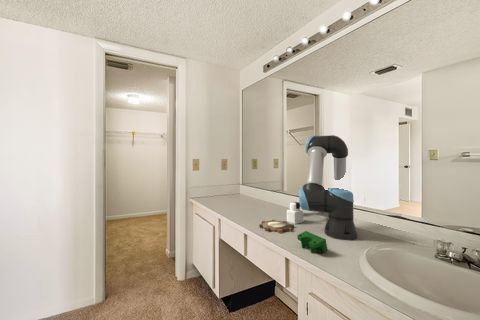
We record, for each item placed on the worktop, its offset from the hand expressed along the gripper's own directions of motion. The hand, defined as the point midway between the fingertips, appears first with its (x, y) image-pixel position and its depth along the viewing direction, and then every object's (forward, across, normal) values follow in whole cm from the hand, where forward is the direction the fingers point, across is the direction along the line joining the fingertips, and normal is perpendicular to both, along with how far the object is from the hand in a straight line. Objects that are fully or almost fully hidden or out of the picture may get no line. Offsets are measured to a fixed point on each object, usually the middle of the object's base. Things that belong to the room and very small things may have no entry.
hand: (302, 208), depth 136 cm
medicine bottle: (+10, 0, -7) cm, 12 cm away
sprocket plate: (+27, +2, -7) cm, 28 cm away
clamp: (+42, -25, -7) cm, 49 cm away
